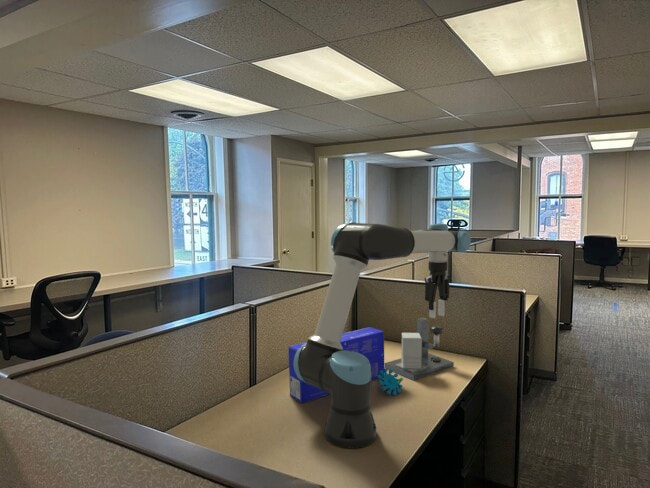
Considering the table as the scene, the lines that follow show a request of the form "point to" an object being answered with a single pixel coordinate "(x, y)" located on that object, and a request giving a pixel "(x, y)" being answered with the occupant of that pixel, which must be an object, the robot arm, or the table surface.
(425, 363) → the plate
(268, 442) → the table surface
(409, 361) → the supplement box
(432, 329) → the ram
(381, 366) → the toner cartridge box
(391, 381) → the gear
